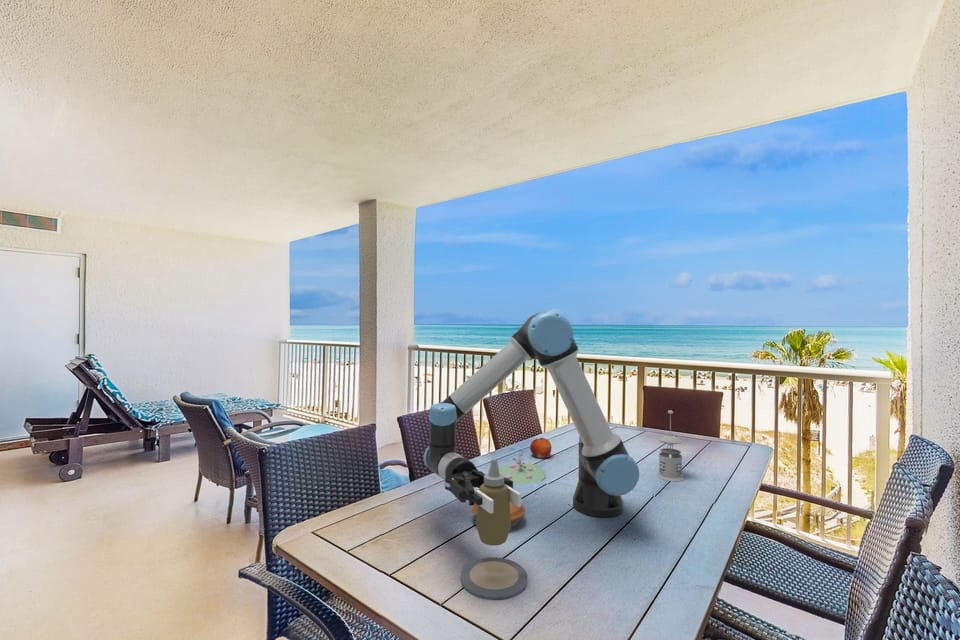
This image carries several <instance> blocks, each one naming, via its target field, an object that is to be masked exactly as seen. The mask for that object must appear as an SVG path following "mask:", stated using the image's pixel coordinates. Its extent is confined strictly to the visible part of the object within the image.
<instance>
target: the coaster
mask: <svg viewBox="0 0 960 640" xmlns="http://www.w3.org/2000/svg"><path fill="white" fill-rule="evenodd" d="M527 573H528V572H527V571H526V569H525V568H524V567H523V566H522V565H521V564H519V563H518V562H516V561H514V560H512V559H510V558H509V559H507V558H504V557H493V556H491V557H490V556H489V557H488V556H487V557H482V558H477V559H475V560H472V561H470V562H469V563H467V564H466V565H465V566H463V568H462V569H461V571H460V583H461V586H462V588H463V589H464V590H465V591H466V592H468V593H469V594H471V595H472V596H476V597H477V598H481V599H484V600H485V599H486V600H497V601H498V600H504V599H505V600H506V599H510V598H513V597H515V596H517V595H519V594H521V593H522V592H523V591H524V590H525V589H526V588H527V586H528V581H529V580H528V578H529V577H528V574H527Z"/></svg>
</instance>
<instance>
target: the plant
mask: <svg viewBox="0 0 960 640" xmlns="http://www.w3.org/2000/svg"><path fill="white" fill-rule="evenodd" d="M523 455H524V453H523V452H522V450H519V455H518V458H517V459H516V458H515V457H514V458H513V459H512V460H513V461H515V463H512V464H511V465H506V466H502V467H500V468H499V467H498V468H499V473H500V474H502V475H504V477H505V478H507V479H509V480H511V481H513V485H521V484H522V485H523V484H532V483H533V484H534V483H539V482H542V481H543V480H545V479H546V477H547V476H546V472H545V471H544V469H543V468H541V467H540V466H538V465H536V464H534V463H526V462H523V460H525V458H522V457H523Z"/></svg>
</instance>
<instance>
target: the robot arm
mask: <svg viewBox="0 0 960 640" xmlns="http://www.w3.org/2000/svg"><path fill="white" fill-rule="evenodd" d="M578 352H579V347H578V345H577V343H576V341H575V339H574V329H573V326H572V324H571V323H570V321H569V320H568V319H567V318H566V317H565V316H564V315H562V314H561V313H559V312H556V311H549V310H548V311H543V312H539V313H534V314H533V315H531V316H530V317H529V318H527V320H526V321H525V322H524V323H523V324H522V325H521V327H520V328H518V330H516V332H515V333H514V334H512V335H511V336H510V341H509V342H508V343H507V344H506V345H505V346H503V348H501V349H500V350H499V351H498V352H497V353H496V354H495V355H493V357H491V358H490V359H489V360H488V361H487V362H486V363H485V364H484V365H482V366H481V367H480V368H479V369H478V370H477V371H476V372H475V373H473V374H472V375H471V376H470V377H469V378H468V379H467V380H465V381H464V382H463V383H462V384H460V385H459V387H457V388H456V389H455V390H454V391H453V392H452V393H450V394H449V395H448V396H447V397H446V398H445V399H444V400H443V401H441V402H438V403H434V404H432V405H430V407H429V415H428V420H429V421H428V422H429V423H428V426H429V427H428V428H429V429H428V430H429V432H428V434H429V435H428V436H429V438H428V439H429V440H428V442H429V443H428V446H427V447H426V449H425V451H424V453H423V462H424V464H425V466H426V468H427V469H429V471H430V472H431V473H432V474H433V473H434V474H436V475H437V476H438V477H440V478H441V479H442V480H444V490H446V491H449V492H450V493H451V494H452V495H453V496H454V497H455V498H456V499H457V500H458V501H459V502H460V503H462V504H464V503H466V502H467V501H468V505H469V506H472V507H473V505H474V504H476V505H479V506H481V507H482V508H483V509H485V510H486V511H487V512H489V513H490V514H491V513H493V501H494V500H493V499H491V498H490V497H488V496H487V495H485V494H484V493H482V492H481V491H479V490H480V486H481V485H482V484H483V483H484V475H485V474H487V473H489V471H488V472H486V473H484V472H483V471H481V470H478V469H477V467H476V465H475V464H474V462H472V461H471V460H469V459H467V458H466V457H464V456H462V455H460V454H459V453H457V451H456V449H457V422H458V421H460V419H462V418H463V417H464V416H465V415H466V414H467V413H468V412H469V411H470V410H472V408H474V407H475V406H477V404H479V402H481V401H482V400H483V399H484V398H485V397H487V395H489V394H490V393H491V392H492V391H493V390H494V389H496V388H497V387H498V386H499V385H500V384H501V383H503V381H504V380H506V379H507V378H508V377H509V376H511V374H513V373H514V372H515V371H516V370H517V369H519V367H521V366H522V365H523V364H524V363H525V362H527V361H533V359H535V358H536V360H537V362H538V364H539V366H540V367H541V368H544V369H547V370H548V372H549V374H550V376H551V378H552V380H553V383H554V384H555V386H556V388H557V391H558V393H559V395H560V397H561V400H562V402H563V404H564V405H565V408H566V411H567V412H568V414H569V416H570V418H571V421H572V423H573V425H574V427H575V430H576V431H577V433H578V435H579V437H578V442H577V443H578V444H577V445H578V481H577V485H576V487H575V490H574V493H573V496H572V506H573V508H574V510H575V511H577V512H579V513H582V514H583V515H587V516H590V517H596V518H612V517H617V516H619V515H621V514H622V513H623V512H624V502H623V499H622V496H624V495H627V494H628V493H630V492H632V491H633V490H634V489H635V487H636V486H637V484H638V482H639V479H640V470H639V466H638V464H637V463H636V461H635V459H634V458H633V457H631V456H630V455H629V453H628V451H627V448H626V447H625V445H624V442H623V441H622V438H621V437H620V435H618V434H615V433H613V431H612V430H611V428H610V426H609V424H608V421H607V419H606V417H605V415H604V413H603V411H602V409H601V407H600V404H599V402H598V400H597V398H596V396H595V394H594V391H593V390H592V387H591V385H590V383H589V381H588V379H587V377H586V375H585V372H584V370H583V368H582V366H581V365H580V362H579V360H578V358H577V355H578ZM504 484H505V485H506V486H507V487H508V492H509V501H510V502H512V503H513V504H515V505H516V506H518V507H520V506H521V505H522V493H521V492H519V491H517V490H516V489H515V488H514V484H513V481H511V480H509V479H507V478H505V477H504ZM475 488H478V489H475Z"/></svg>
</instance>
